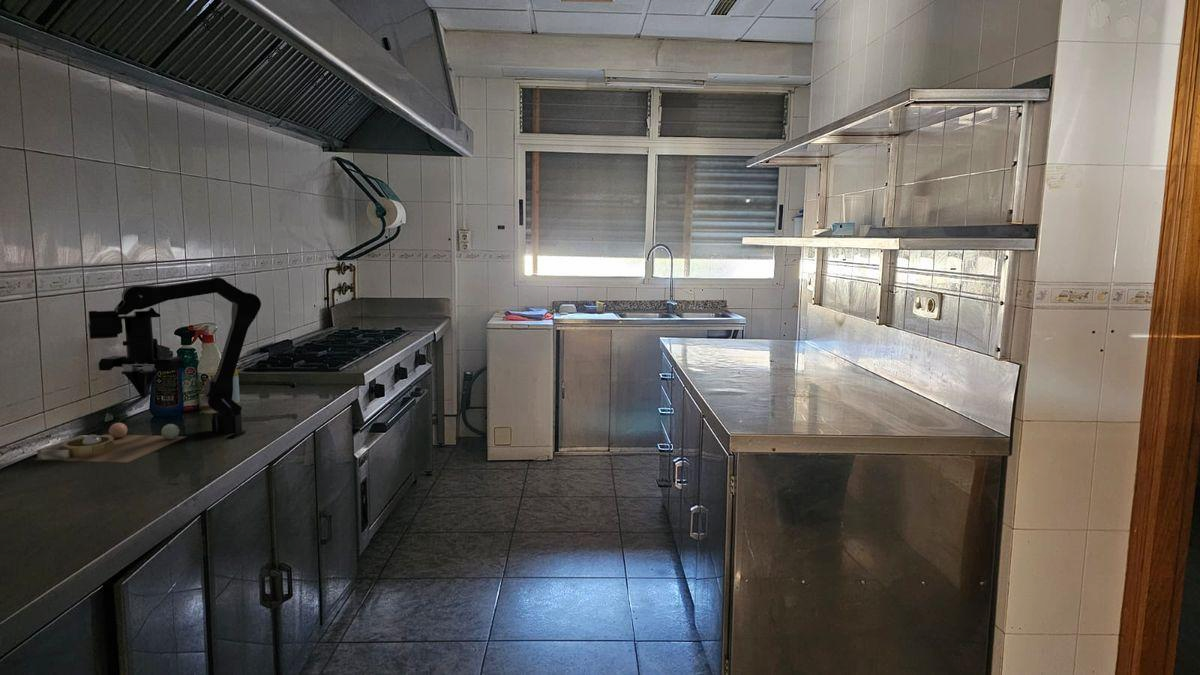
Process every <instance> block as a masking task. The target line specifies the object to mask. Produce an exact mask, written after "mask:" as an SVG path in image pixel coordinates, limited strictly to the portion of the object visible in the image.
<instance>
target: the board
mask: <svg viewBox="0 0 1200 675" xmlns="http://www.w3.org/2000/svg"><path fill="white" fill-rule="evenodd" d="M86 436H88V434H87V435H86V434H85V435H84V434H83V435H78V436H75V437H72V438H69V439H66V440H63V441H60V442H58V443H54V444H52V445H50V446H46V447H43V448H41V449H38V450H36V453H37V454H36V455H37V456H36V457H37V458H35V459H34V461H61V462H63V461H65V462H91V463H92V462H94V463H95V462H97V463H98V462H99V463H100V462H101V463H129V462H132V461H134V460H137V459H139V458H141V457H144V456H145V455H148V454H150V453H153V452H154V451H158V450H160V449H162V448H165V447H168V446H169V445H171V444H173V443H175V442H178V441H180V440H183V439H185V438H188V436H186V435H185V436H181V435H178V436H177V437H176V438H174V439H171V440H168V439H165V438H164V437H163V436H162V435H148V434H147V435H145V434H143V435H142V434H141V435H138V434H126V435H125V436H124V437H122V438H114V437H113V438H114V449H113V450H112V451H110V452H108V453H105V454H100V455H96V456H90V457H80V458H73V457H69V450H62V445H63V443H64V442H67V441H70V440H73V439H78V438H83V437H86ZM100 436H110V437H112V436H111V435H110V433H109V434H105V433H104V434H102V435H100Z"/></svg>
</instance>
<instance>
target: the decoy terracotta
mask: <svg viewBox="0 0 1200 675" xmlns="http://www.w3.org/2000/svg"><path fill="white" fill-rule="evenodd" d="M108 433H109V434H110V435H111V436H112V437H114V438H122V437H124V436H125V435H128V434H127V433H128V426H127V425H126V424H124V423H123V422H115V423H113V424H112V425H110V427H109V430H108Z"/></svg>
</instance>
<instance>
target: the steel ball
mask: <svg viewBox="0 0 1200 675" xmlns="http://www.w3.org/2000/svg"><path fill="white" fill-rule="evenodd" d="M87 435H88V434H87ZM99 436H100V435H97V434H89V435H88V436H86V437H85V438H84V439H83V441H82V446H89V445H95V444H100V443H102V440H101V438H100V437H99Z"/></svg>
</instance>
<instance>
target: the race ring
mask: <svg viewBox="0 0 1200 675" xmlns="http://www.w3.org/2000/svg"><path fill="white" fill-rule="evenodd" d="M98 436H99V437H100V438H101V440H102V443H100V444H95V445H89V446H82V441H83V439H84V438H85V437H83V438H78V439H73V440H70V441H67V442H64V443H63V445H62V450H69V457H73V458H80V457H90V456H96V455H100V454H105V453H108V452H110V451H112V450H113V449H114V438H113V437H110V436H101V435H98Z"/></svg>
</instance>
